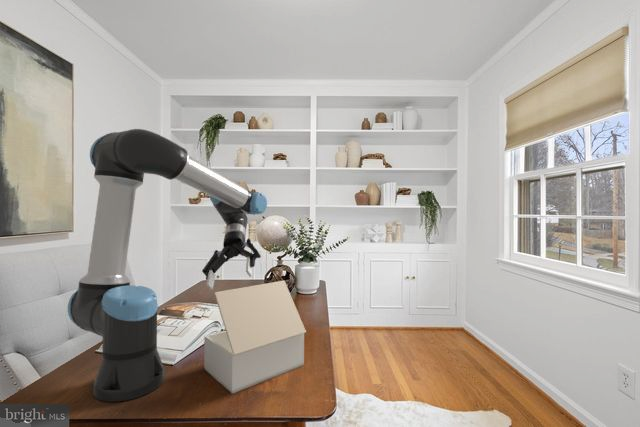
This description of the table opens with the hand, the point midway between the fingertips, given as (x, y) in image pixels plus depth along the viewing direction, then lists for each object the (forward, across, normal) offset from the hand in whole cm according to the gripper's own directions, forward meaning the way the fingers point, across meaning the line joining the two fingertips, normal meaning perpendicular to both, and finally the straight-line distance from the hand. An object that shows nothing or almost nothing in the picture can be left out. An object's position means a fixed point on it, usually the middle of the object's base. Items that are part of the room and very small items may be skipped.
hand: (228, 280), depth 105 cm
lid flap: (+17, -12, 0) cm, 21 cm away
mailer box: (+24, -4, -12) cm, 27 cm away
